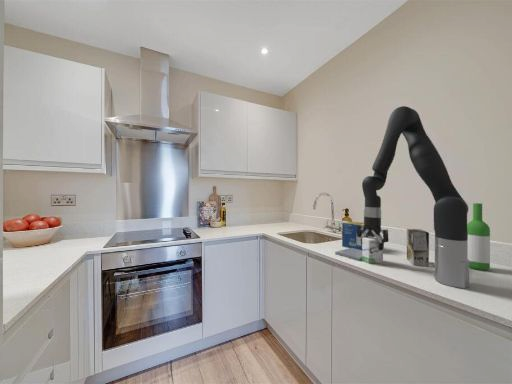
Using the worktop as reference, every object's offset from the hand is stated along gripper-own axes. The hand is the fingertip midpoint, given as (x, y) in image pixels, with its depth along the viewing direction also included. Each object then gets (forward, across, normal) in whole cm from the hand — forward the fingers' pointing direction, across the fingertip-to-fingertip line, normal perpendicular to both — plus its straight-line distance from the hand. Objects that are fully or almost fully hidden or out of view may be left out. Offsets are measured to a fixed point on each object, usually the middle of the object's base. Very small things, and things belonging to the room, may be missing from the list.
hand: (371, 248), depth 103 cm
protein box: (+7, +18, -19) cm, 28 cm away
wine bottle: (+6, -32, -32) cm, 45 cm away
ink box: (+7, 0, 0) cm, 7 cm away
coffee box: (+7, -14, -17) cm, 23 cm away
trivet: (+7, +11, -3) cm, 13 cm away
